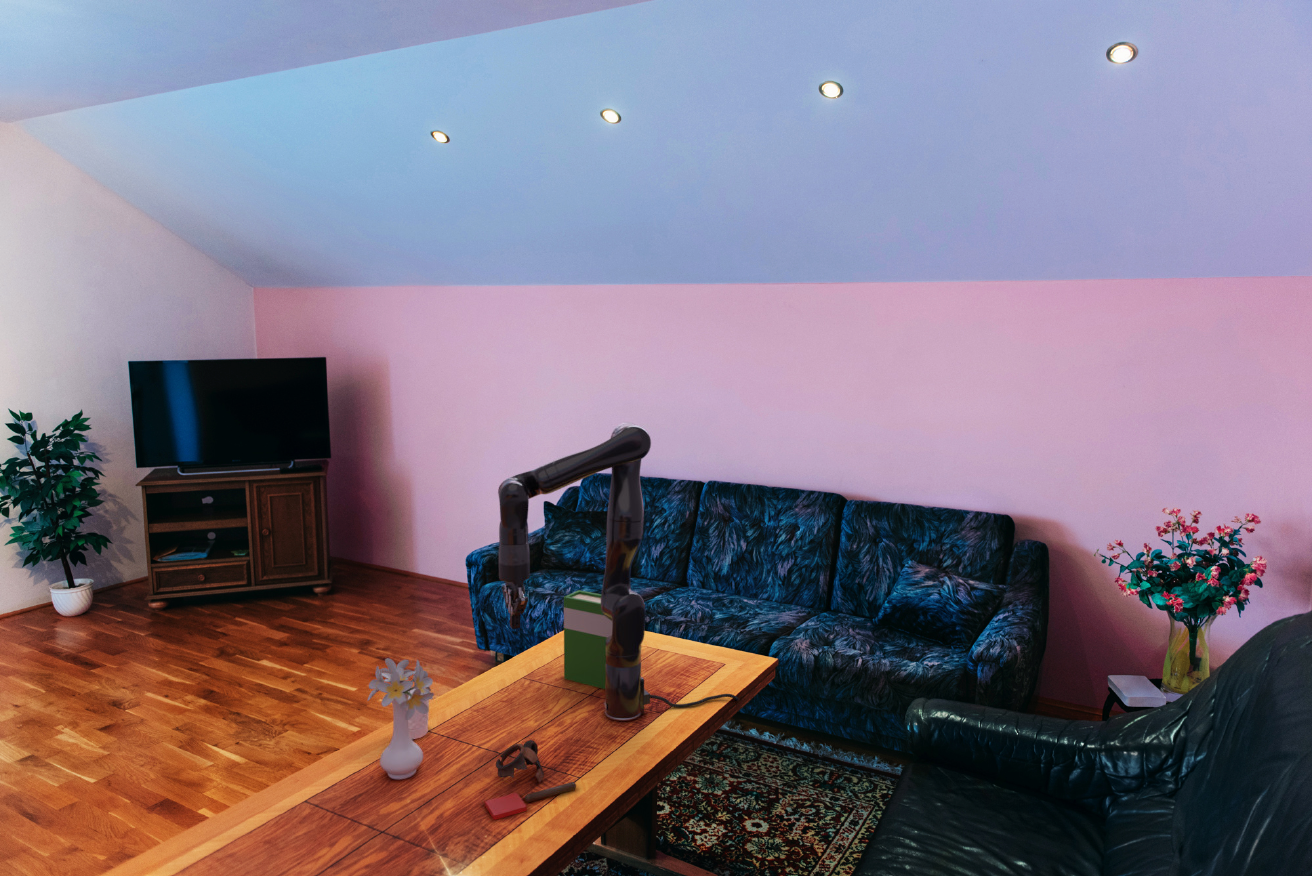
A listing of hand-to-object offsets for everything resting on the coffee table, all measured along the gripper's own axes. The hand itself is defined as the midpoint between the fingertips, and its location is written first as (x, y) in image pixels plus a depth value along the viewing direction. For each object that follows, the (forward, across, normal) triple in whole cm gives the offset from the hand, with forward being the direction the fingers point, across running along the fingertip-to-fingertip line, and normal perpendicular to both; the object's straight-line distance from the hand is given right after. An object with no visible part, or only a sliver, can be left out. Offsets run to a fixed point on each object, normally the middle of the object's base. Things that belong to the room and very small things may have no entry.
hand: (515, 627), depth 208 cm
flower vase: (+25, -11, +30) cm, 41 cm away
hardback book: (+25, +14, -29) cm, 41 cm away
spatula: (+25, -35, +9) cm, 44 cm away
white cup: (+25, +7, +24) cm, 35 cm away
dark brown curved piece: (+25, -24, +7) cm, 36 cm away
